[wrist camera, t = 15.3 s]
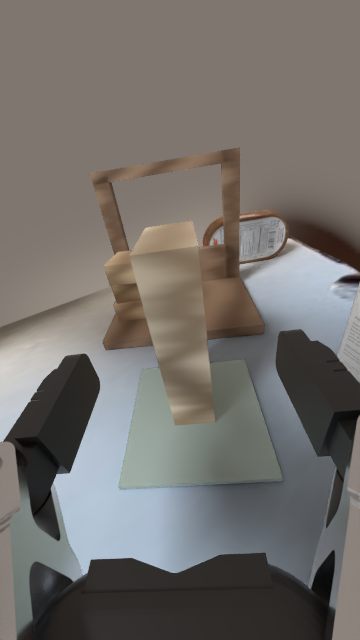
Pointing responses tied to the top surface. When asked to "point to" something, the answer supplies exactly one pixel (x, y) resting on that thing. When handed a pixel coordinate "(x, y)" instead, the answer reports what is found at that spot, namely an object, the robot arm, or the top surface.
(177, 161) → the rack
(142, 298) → the pale wooden block
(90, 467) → the top surface
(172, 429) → the mat
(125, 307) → the offcut low
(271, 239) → the tin
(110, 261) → the offcut top
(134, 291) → the offcut mid
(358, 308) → the supplement box
